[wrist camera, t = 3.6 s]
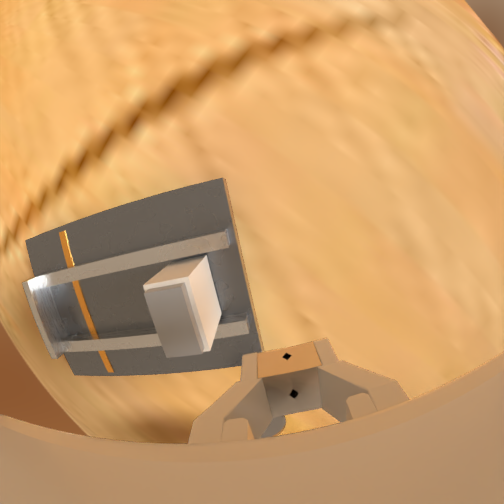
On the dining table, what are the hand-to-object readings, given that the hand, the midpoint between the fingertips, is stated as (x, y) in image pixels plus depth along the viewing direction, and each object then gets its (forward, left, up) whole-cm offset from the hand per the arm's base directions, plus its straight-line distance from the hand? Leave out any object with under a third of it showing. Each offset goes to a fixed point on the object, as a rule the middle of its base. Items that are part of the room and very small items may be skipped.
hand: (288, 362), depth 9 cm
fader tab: (+6, 0, -13) cm, 14 cm away
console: (+13, 0, -15) cm, 20 cm away
